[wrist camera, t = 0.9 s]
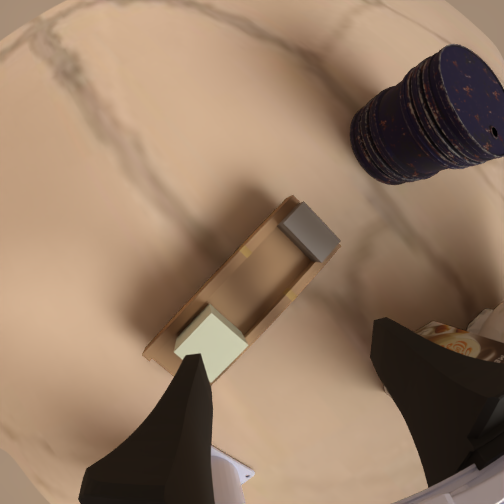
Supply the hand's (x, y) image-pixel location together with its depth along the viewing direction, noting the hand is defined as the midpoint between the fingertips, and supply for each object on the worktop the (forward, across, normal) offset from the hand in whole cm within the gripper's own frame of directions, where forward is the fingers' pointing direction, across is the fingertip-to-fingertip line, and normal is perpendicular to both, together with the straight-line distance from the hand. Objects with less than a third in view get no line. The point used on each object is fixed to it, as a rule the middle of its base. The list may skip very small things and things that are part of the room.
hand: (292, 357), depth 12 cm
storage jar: (+22, -17, -6) cm, 29 cm away
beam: (+16, +2, +5) cm, 17 cm away
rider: (+12, +5, +6) cm, 14 cm away
